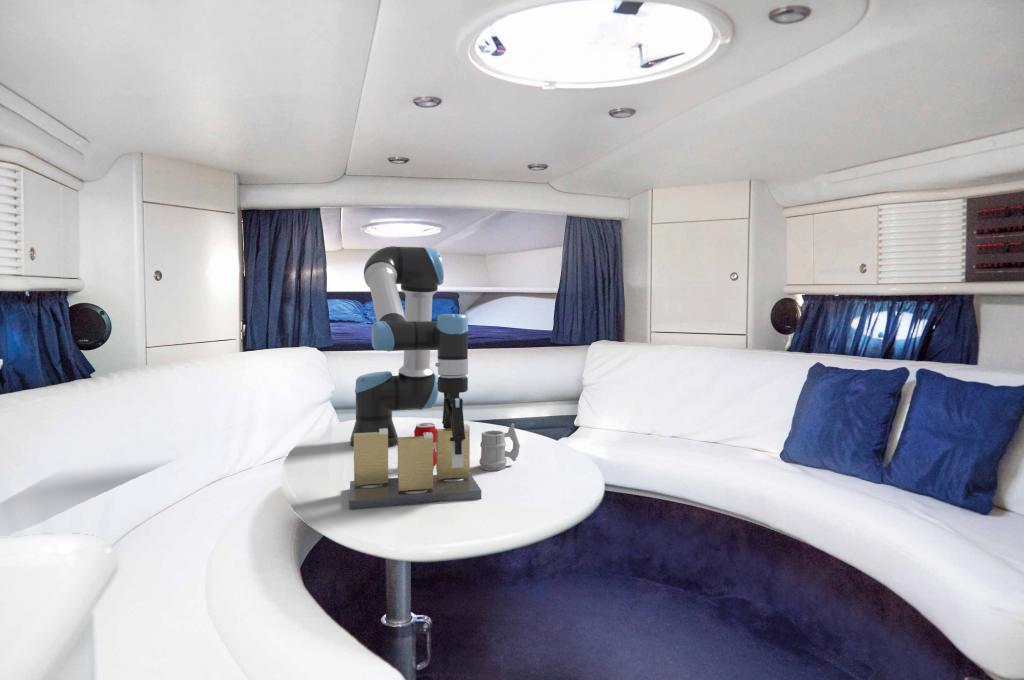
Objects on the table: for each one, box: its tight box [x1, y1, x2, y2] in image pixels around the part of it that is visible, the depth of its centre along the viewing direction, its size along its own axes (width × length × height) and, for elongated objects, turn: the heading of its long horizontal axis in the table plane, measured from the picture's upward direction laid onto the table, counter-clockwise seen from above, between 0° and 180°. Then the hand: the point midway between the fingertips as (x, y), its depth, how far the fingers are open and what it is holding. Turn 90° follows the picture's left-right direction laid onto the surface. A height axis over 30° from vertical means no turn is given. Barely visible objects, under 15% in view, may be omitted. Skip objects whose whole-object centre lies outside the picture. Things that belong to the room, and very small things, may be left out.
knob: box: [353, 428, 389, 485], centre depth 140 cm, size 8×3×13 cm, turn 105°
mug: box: [479, 423, 521, 472], centre depth 163 cm, size 8×12×12 cm, turn 112°
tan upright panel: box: [435, 423, 471, 479], centre depth 145 cm, size 8×3×13 cm, turn 105°
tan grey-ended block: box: [397, 432, 434, 491], centre depth 136 cm, size 8×3×13 cm, turn 105°
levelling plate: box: [348, 473, 482, 511], centre depth 140 cm, size 15×30×2 cm, turn 105°
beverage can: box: [413, 422, 437, 468], centre depth 163 cm, size 6×6×12 cm
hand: (453, 460), depth 145 cm, fingers open, 13 cm apart
